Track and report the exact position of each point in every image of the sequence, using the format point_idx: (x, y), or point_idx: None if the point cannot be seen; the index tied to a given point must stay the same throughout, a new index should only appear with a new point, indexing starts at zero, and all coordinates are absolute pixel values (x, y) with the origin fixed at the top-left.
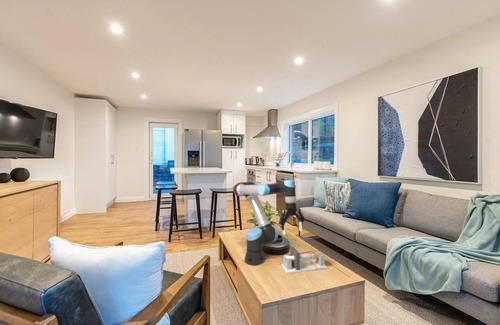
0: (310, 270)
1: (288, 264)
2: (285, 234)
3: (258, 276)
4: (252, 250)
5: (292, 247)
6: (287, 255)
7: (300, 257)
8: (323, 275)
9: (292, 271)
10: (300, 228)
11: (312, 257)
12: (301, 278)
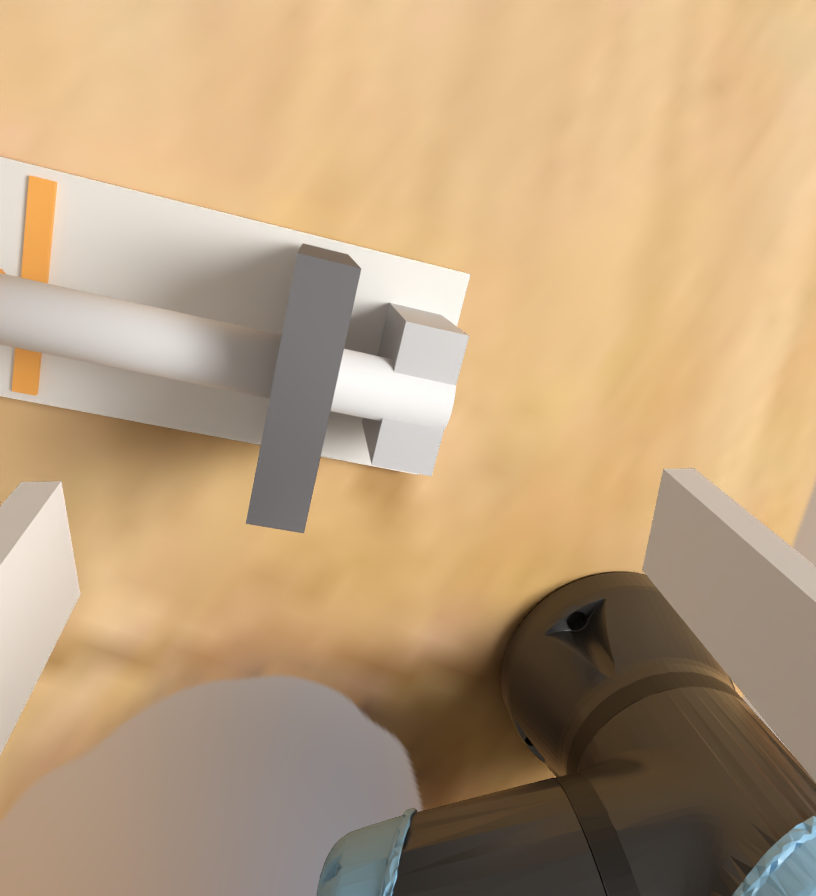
0: (156, 195)
1: (438, 320)
2: (686, 473)
3: (751, 370)
4: (746, 705)
5: (275, 509)
6: (387, 447)
7: (228, 327)
8: (51, 17)
9: (404, 259)
10: (31, 585)
11: (17, 277)
12: (372, 105)
